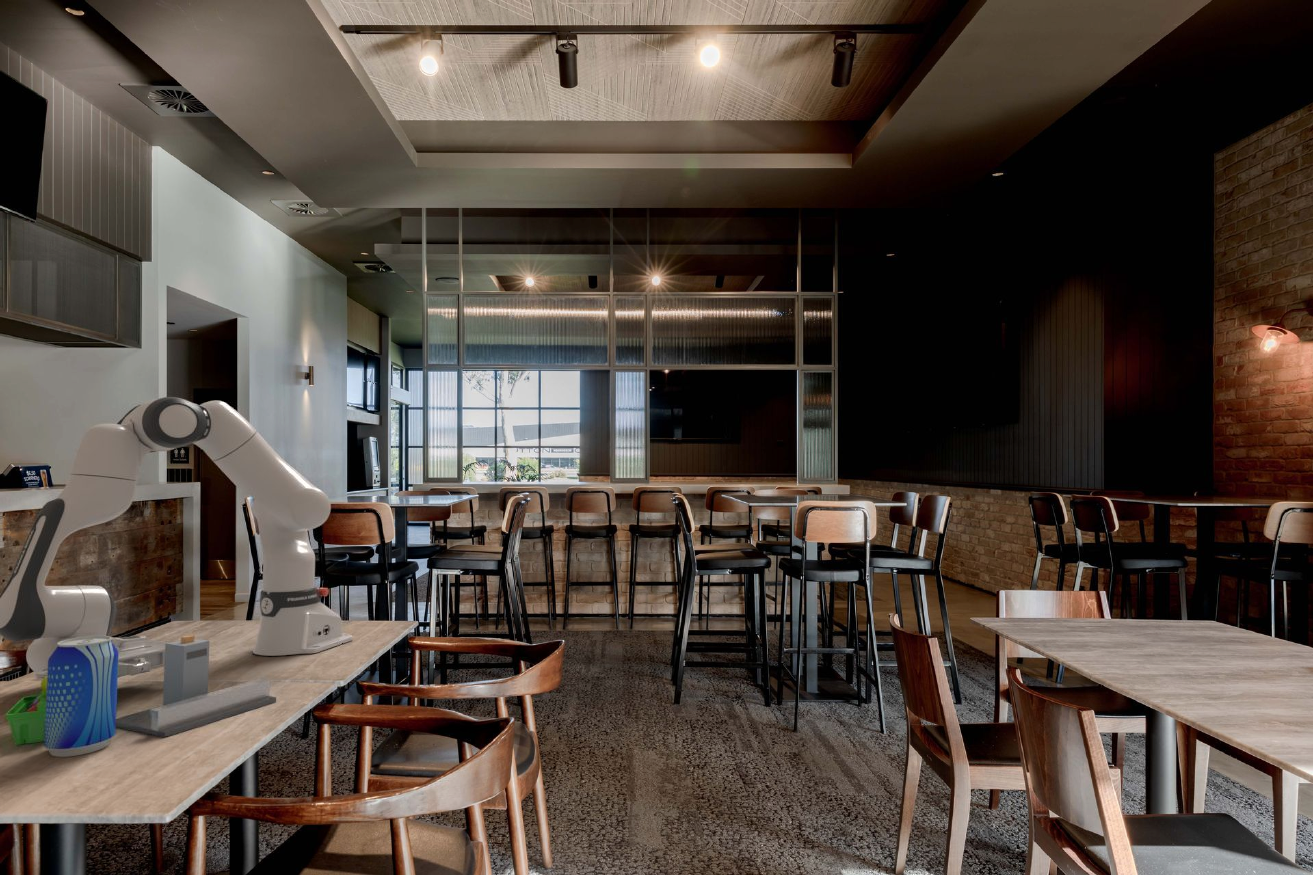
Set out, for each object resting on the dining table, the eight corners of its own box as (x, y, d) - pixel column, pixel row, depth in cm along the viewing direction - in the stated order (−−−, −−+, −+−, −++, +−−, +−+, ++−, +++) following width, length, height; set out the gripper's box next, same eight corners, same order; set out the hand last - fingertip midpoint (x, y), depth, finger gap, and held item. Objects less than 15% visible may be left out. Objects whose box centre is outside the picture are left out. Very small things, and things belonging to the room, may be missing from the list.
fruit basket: (21, 727, 120) (25, 657, 120) (89, 718, 124) (92, 650, 125) (1, 749, 110) (5, 673, 110) (76, 739, 114) (79, 665, 115)
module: (188, 700, 131) (190, 632, 132) (207, 704, 129) (209, 634, 130) (162, 707, 127) (165, 637, 128) (182, 711, 125) (184, 640, 126)
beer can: (128, 742, 113) (132, 636, 114) (69, 761, 105) (73, 648, 106) (90, 735, 116) (94, 632, 117) (29, 754, 108) (35, 644, 109)
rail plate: (223, 692, 139) (223, 672, 139) (276, 701, 133) (276, 680, 133) (108, 725, 120) (109, 701, 121) (164, 737, 115) (165, 712, 115)
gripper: (31, 656, 129) (78, 664, 124) (150, 633, 148) (196, 639, 143) (29, 692, 129) (77, 702, 123) (149, 665, 148) (195, 672, 142)
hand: (142, 668), depth 133 cm, fingers closed
